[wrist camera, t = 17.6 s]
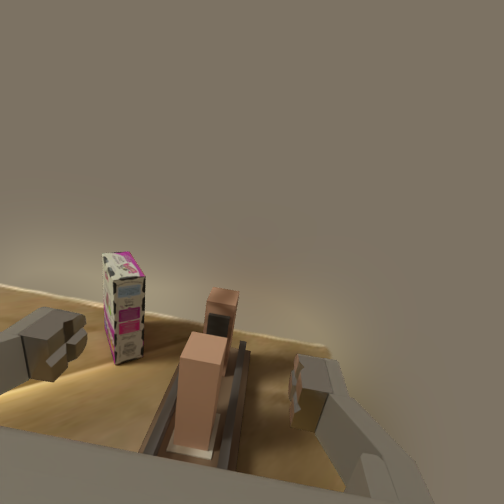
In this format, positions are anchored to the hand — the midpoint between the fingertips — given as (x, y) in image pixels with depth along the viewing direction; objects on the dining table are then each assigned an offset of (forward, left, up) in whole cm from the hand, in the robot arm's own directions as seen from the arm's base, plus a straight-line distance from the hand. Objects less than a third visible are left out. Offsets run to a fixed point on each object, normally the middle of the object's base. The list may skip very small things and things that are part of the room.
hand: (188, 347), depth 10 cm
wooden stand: (-2, +22, -30) cm, 37 cm away
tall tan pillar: (-2, +16, -28) cm, 33 cm away
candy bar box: (-20, +31, -30) cm, 48 cm away
